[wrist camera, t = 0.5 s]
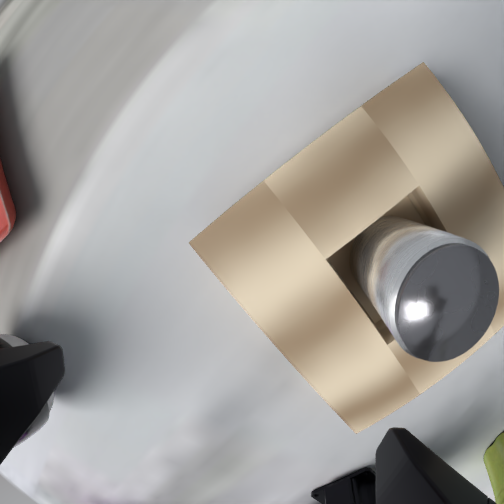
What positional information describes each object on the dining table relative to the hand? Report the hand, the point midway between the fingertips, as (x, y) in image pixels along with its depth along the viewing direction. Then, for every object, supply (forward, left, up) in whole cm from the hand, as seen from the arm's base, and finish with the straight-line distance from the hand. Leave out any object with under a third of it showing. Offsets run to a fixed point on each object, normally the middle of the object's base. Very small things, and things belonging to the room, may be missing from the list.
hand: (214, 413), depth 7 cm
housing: (-4, -7, -14) cm, 16 cm away
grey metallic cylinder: (-4, -7, -13) cm, 15 cm away
